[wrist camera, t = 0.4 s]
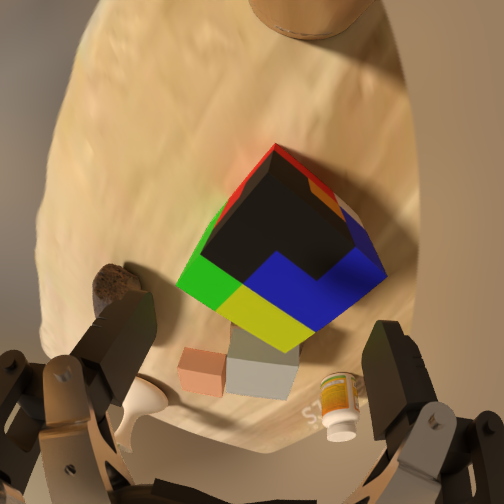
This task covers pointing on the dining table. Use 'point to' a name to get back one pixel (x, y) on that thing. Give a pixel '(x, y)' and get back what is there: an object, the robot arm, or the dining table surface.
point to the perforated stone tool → (112, 286)
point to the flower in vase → (138, 409)
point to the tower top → (259, 367)
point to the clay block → (202, 372)
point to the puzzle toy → (282, 255)
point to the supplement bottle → (340, 406)
